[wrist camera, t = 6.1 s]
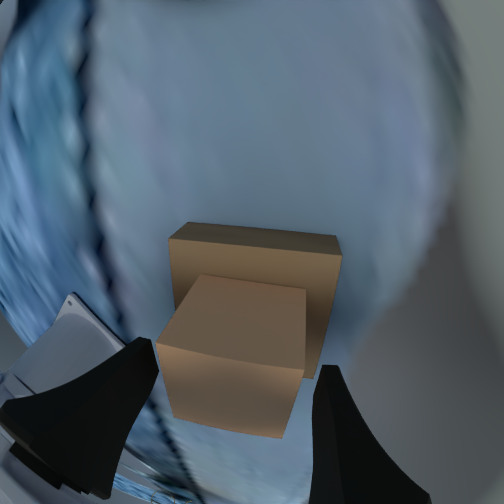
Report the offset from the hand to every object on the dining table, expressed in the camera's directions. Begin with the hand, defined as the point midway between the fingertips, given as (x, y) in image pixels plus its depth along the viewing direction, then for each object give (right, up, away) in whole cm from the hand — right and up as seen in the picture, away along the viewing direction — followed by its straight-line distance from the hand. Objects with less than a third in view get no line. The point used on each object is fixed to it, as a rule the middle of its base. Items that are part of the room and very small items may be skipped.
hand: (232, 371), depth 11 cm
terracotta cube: (+1, +1, +3) cm, 4 cm away
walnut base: (+1, +3, +6) cm, 7 cm away
